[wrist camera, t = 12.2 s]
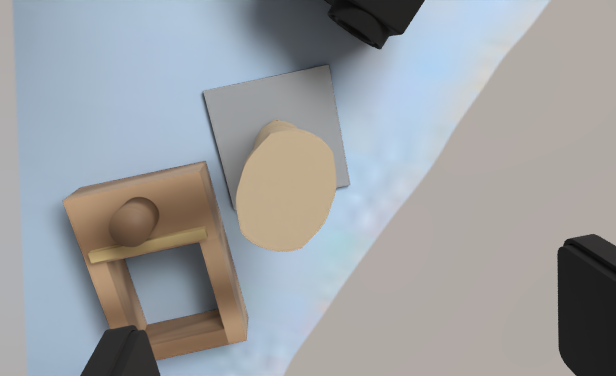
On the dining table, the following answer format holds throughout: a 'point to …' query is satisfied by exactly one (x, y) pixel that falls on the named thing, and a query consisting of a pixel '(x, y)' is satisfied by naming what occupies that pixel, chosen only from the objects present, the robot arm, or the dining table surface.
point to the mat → (274, 117)
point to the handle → (285, 187)
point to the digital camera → (374, 18)
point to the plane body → (155, 237)
